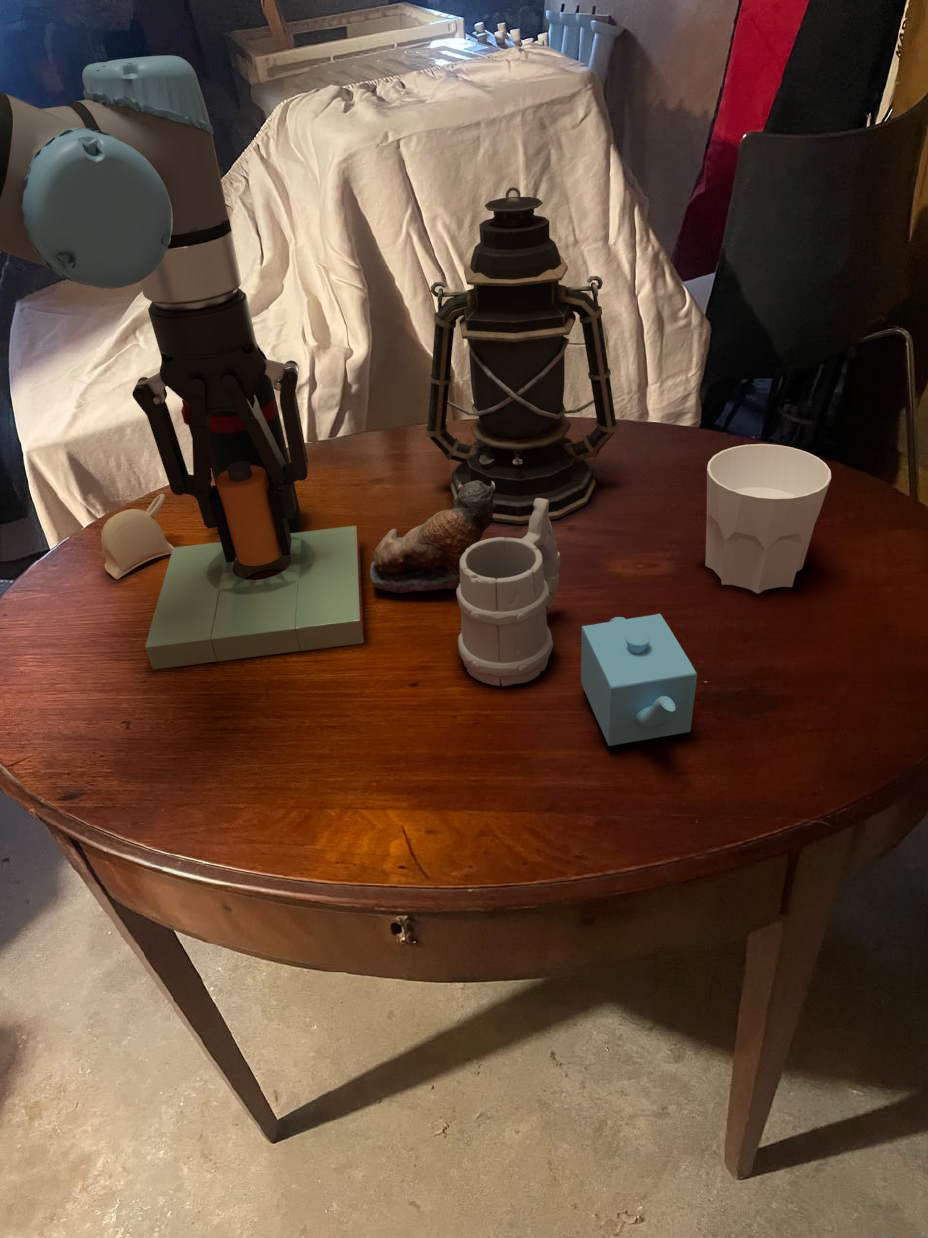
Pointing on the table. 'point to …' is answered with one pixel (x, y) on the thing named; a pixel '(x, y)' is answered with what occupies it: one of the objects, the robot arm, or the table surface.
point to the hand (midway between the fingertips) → (259, 550)
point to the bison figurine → (434, 544)
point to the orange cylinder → (249, 513)
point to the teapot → (637, 679)
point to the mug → (509, 603)
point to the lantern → (520, 368)
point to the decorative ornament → (133, 539)
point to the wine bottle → (245, 439)
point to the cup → (762, 513)
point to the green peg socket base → (258, 602)
